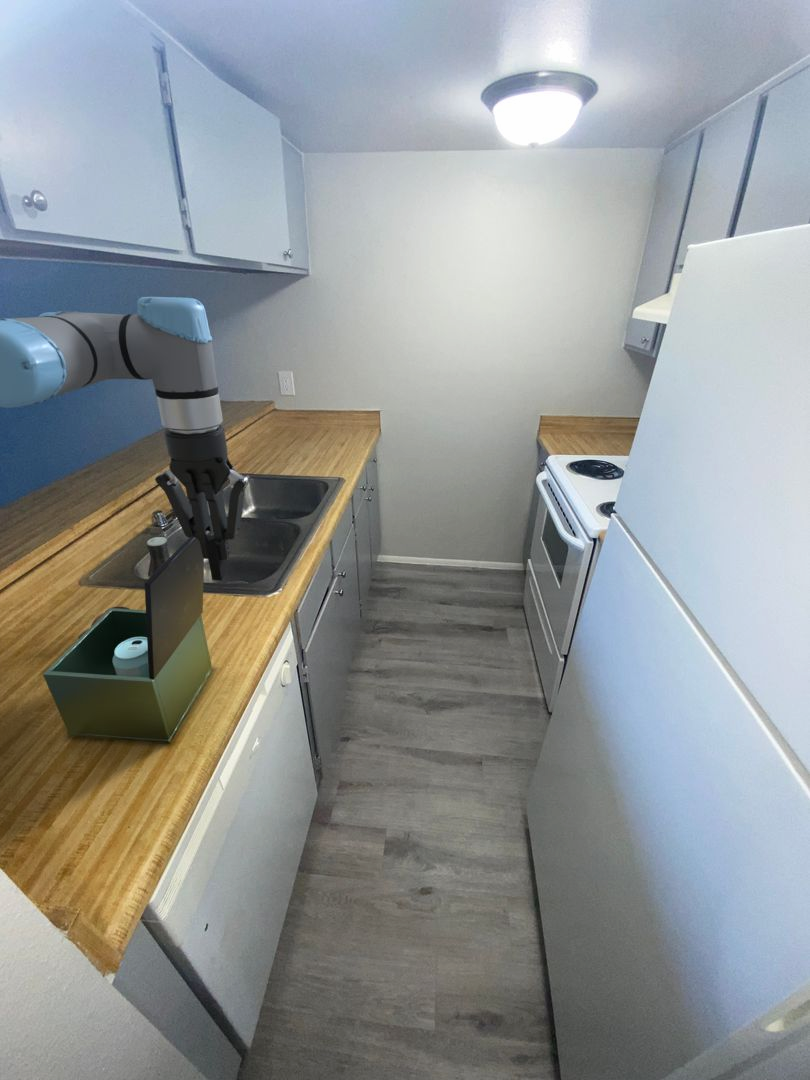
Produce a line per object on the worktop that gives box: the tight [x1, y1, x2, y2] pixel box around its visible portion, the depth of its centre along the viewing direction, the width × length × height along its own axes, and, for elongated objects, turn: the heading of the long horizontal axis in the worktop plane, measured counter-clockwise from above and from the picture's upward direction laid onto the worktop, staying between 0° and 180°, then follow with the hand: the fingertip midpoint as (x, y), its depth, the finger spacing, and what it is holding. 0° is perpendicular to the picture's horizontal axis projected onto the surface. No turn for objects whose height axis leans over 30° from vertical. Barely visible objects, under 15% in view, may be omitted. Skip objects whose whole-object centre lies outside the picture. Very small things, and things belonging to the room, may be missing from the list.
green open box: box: [42, 607, 214, 745], centre depth 85 cm, size 18×18×14 cm
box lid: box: [144, 537, 205, 680], centre depth 77 cm, size 18×18×1 cm
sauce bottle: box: [146, 536, 171, 579], centre depth 107 cm, size 7×6×20 cm
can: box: [113, 637, 149, 678], centre depth 85 cm, size 7×7×12 cm
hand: (220, 575), depth 74 cm, fingers closed
